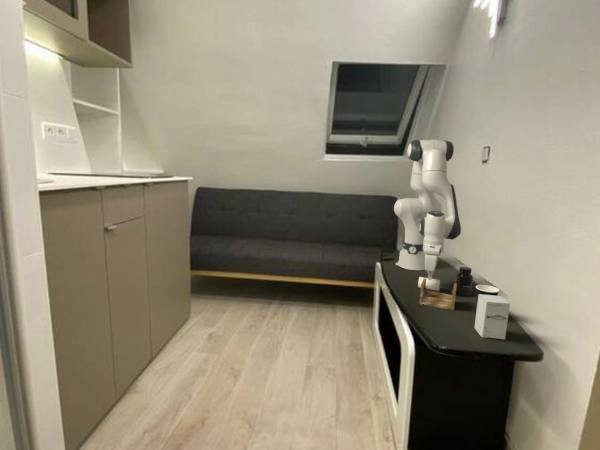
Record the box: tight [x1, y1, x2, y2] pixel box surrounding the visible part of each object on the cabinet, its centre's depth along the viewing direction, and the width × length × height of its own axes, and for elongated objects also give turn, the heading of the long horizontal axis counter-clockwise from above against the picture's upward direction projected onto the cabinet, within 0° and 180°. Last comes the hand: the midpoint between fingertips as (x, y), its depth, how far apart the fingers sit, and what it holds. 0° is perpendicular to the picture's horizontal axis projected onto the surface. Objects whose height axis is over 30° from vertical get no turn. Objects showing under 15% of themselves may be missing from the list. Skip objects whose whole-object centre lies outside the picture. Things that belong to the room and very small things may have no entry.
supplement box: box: [474, 294, 511, 340], centre depth 115 cm, size 7×7×13 cm
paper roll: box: [417, 276, 441, 292], centre depth 159 cm, size 9×5×5 cm, turn 64°
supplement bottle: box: [454, 266, 474, 297], centre depth 153 cm, size 7×7×12 cm
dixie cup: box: [475, 284, 500, 311], centre depth 130 cm, size 8×8×11 cm
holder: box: [418, 277, 457, 311], centre depth 141 cm, size 13×10×8 cm
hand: (430, 276), depth 158 cm, fingers open, 8 cm apart
